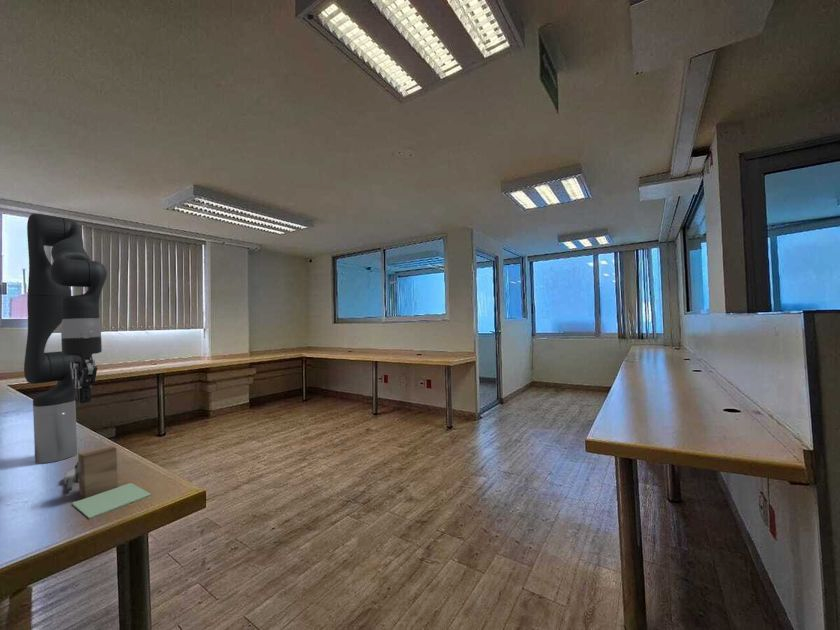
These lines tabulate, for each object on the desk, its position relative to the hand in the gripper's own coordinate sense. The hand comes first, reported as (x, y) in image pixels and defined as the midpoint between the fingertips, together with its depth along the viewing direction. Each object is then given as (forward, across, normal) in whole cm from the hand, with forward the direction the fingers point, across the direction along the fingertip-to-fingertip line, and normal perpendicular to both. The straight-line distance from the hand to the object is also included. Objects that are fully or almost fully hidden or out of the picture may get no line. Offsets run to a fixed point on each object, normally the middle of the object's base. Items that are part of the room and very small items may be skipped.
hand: (84, 402), depth 91 cm
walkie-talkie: (+22, -5, +1) cm, 22 cm away
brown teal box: (+21, +9, 0) cm, 23 cm away
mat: (+21, +18, 0) cm, 28 cm away
